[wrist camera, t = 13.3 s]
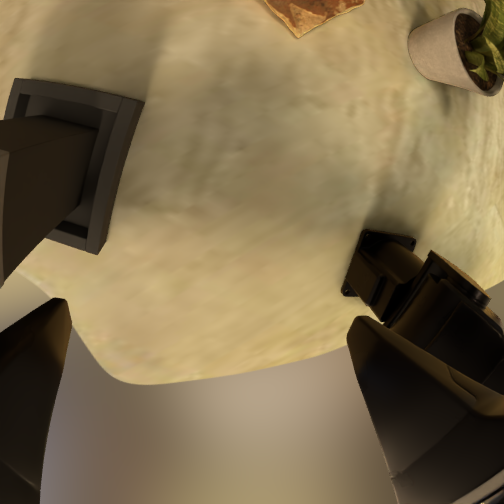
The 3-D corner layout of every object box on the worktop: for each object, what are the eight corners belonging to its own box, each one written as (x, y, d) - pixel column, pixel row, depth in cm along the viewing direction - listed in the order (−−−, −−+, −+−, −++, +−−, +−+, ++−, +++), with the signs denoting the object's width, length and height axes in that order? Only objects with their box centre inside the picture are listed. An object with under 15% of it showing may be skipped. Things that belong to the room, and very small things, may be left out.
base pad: (145, 102, 16) (138, 100, 14) (106, 242, 19) (97, 255, 18) (30, 79, 12) (14, 77, 11) (6, 208, 16) (-8, 218, 14)
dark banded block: (100, 128, 15) (-43, 172, 4) (80, 205, 17) (-28, 326, 6) (42, 113, 14) (-105, 148, 2) (26, 187, 16) (-94, 279, 4)
